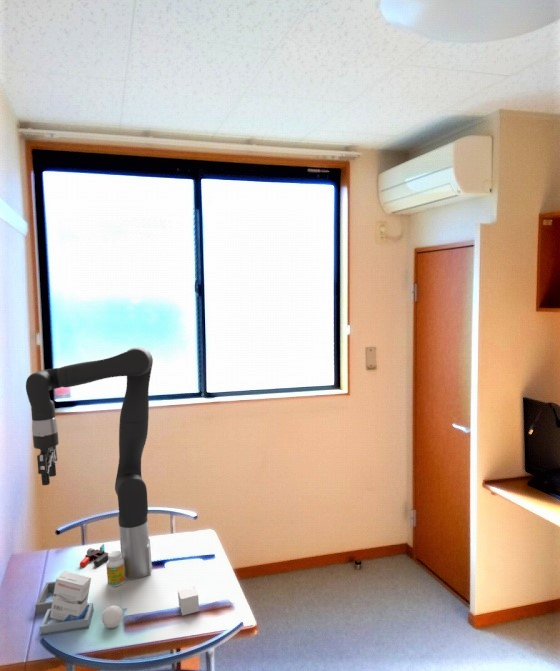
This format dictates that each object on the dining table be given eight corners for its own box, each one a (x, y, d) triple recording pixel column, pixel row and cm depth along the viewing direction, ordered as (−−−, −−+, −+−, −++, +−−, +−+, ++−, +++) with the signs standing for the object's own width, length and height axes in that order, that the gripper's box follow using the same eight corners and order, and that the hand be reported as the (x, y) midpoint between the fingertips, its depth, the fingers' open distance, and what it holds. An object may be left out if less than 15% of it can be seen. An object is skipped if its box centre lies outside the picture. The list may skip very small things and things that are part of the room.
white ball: (124, 629, 147) (122, 610, 147) (102, 634, 146) (100, 614, 145) (123, 614, 155) (122, 595, 154) (103, 618, 153) (101, 599, 153)
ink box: (85, 615, 154) (92, 576, 153) (77, 625, 149) (84, 586, 148) (58, 607, 155) (64, 569, 154) (49, 618, 150) (55, 578, 149)
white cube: (195, 602, 159) (194, 586, 159) (199, 611, 154) (198, 594, 154) (178, 606, 157) (177, 590, 157) (182, 615, 153) (181, 599, 152)
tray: (48, 617, 155) (47, 609, 155) (93, 610, 157) (93, 602, 157) (40, 635, 147) (39, 626, 147) (88, 628, 149) (87, 619, 149)
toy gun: (92, 552, 196) (90, 539, 195) (113, 559, 189) (112, 546, 188) (68, 564, 188) (67, 550, 187) (90, 572, 181) (89, 558, 180)
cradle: (73, 588, 171) (72, 579, 170) (64, 610, 158) (63, 600, 158) (47, 591, 169) (46, 582, 169) (36, 614, 157) (35, 604, 157)
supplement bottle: (109, 589, 169) (107, 559, 168) (106, 581, 174) (104, 552, 173) (126, 583, 171) (124, 554, 171) (123, 576, 176) (121, 548, 175)
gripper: (38, 428, 181) (43, 474, 182) (26, 438, 167) (31, 489, 168) (62, 425, 182) (66, 472, 183) (51, 436, 168) (56, 486, 169)
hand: (49, 480), depth 176 cm, fingers open, 8 cm apart
